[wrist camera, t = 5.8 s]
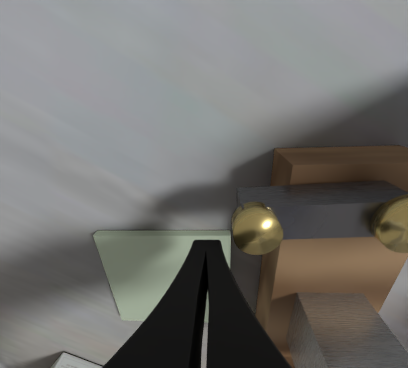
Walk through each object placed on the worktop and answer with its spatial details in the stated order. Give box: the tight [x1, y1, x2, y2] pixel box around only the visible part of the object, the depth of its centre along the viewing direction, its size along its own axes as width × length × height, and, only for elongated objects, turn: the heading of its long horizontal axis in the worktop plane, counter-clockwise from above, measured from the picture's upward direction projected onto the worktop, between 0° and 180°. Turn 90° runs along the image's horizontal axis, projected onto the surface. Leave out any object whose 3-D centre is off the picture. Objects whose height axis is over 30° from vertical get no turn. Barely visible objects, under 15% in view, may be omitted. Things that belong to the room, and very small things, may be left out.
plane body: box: [255, 145, 408, 368], centre depth 13 cm, size 18×7×5 cm, turn 2°
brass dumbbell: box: [231, 180, 408, 255], centre depth 8 cm, size 8×2×2 cm, turn 95°
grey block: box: [286, 292, 408, 368], centre depth 12 cm, size 5×4×4 cm
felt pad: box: [93, 230, 231, 322], centre depth 16 cm, size 10×10×1 cm
